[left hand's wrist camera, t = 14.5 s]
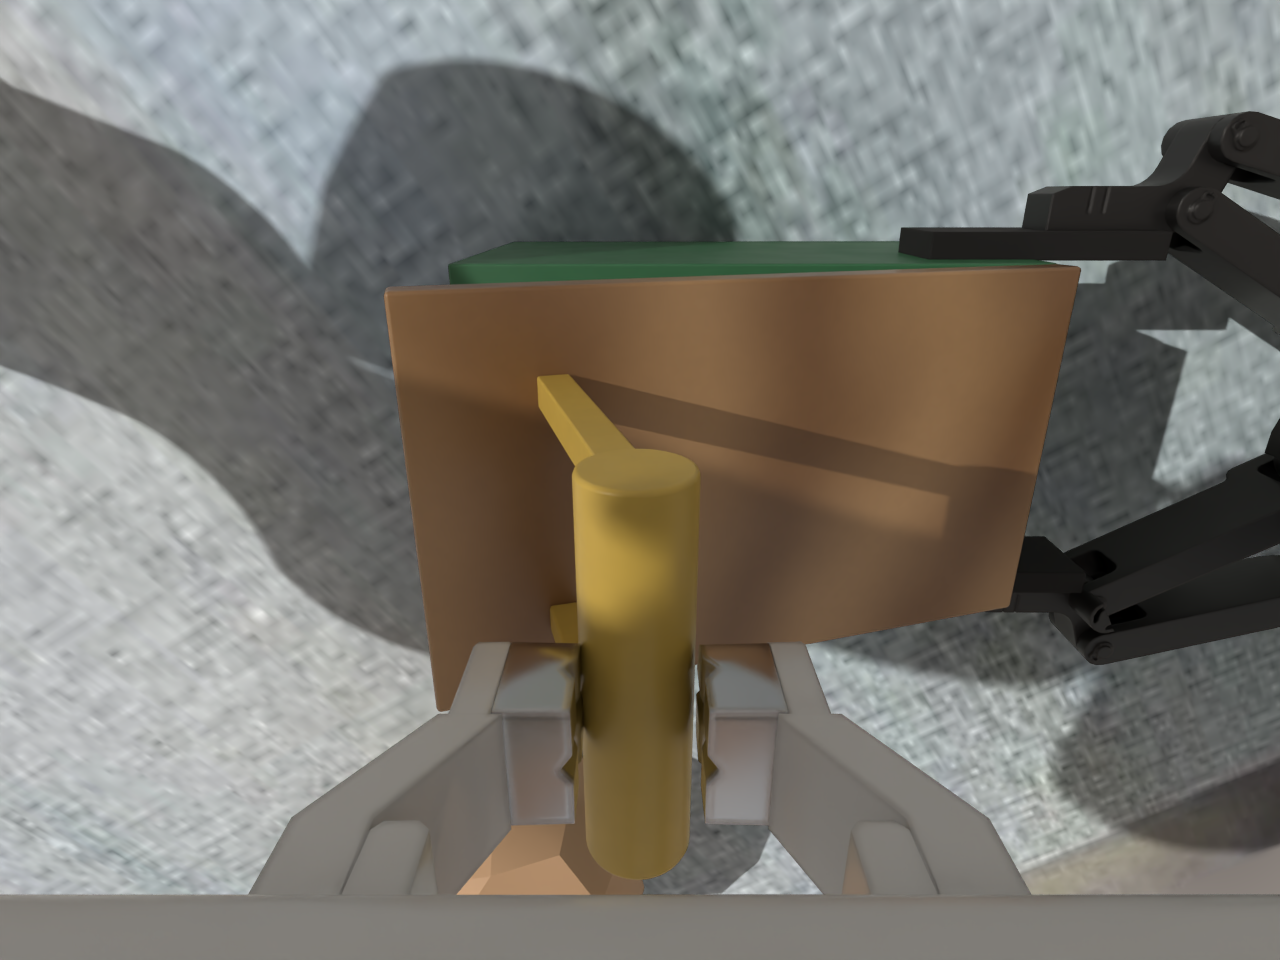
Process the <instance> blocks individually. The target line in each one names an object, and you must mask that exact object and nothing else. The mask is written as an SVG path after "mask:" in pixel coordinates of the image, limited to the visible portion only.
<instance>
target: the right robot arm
mask: <svg viewBox="0 0 1280 960" xmlns="http://www.w3.org/2000/svg"><path fill="white" fill-rule="evenodd" d="M1161 150H1162V155H1163V158H1162V160H1161V161H1160V163H1159V165H1158V167H1157V168H1156V169H1155V171H1154V172H1153V174H1152V175H1151V176H1149V177H1148V178H1147V179H1146V180H1144V181H1143V182H1141V183H1139V184H1137V185H1134V186H1058V187H1045V188H1042V189H1040V190H1037V191H1035V192H1032V193H1030V194H1028V198H1027V203H1026V209H1025V214H1024V220H1023V225H1022V228H901V233H900V241H899V249H898V252H899V253H903V254H907V255H912V256H916V257H920V258H925V259H929V260H1006V259H1033V260H1166V257H1167V254H1168V253H1169V254H1170V255H1172V256H1173V257H1175V258H1176V259H1178V260H1179V261H1180V262H1182V263H1183V264H1185V265H1186V266H1188V267H1189V268H1191V269H1192V270H1194V271H1195V272H1197V273H1198V274H1199V275H1201V276H1202V277H1204V278H1205V279H1207V280H1208V281H1210V282H1211V283H1213V284H1214V285H1216V286H1217V287H1218V288H1220V289H1221V290H1223V291H1224V292H1226V293H1227V294H1229V295H1230V296H1232V297H1233V298H1235V299H1236V300H1237V301H1239V302H1240V303H1242V304H1243V305H1245V306H1246V307H1248V308H1249V309H1251V310H1252V311H1254V312H1255V313H1256V314H1258V315H1259V316H1261V317H1262V318H1264V319H1265V320H1267V321H1268V322H1270V323H1271V324H1272V325H1274V327H1273V328H1272V329H1273V331H1275V332H1276V333H1277V334H1279V335H1280V234H1278V233H1277V232H1275V231H1274V230H1273V229H1271V228H1270V227H1268V226H1267V225H1266V224H1264V223H1263V222H1261V221H1260V220H1259V219H1257V218H1256V217H1254V216H1253V215H1252V214H1250V213H1249V212H1247V211H1246V210H1245V209H1243V208H1242V207H1241V206H1239V205H1238V204H1236V203H1235V202H1234V201H1232V200H1231V199H1229V198H1228V197H1227V196H1225V195H1224V194H1222V193H1221V192H1222V191H1223V189H1224V187H1225V186H1226V184H1227V183H1230V184H1233V185H1236V186H1239V187H1243V188H1246V189H1249V190H1252V191H1255V192H1258V193H1261V194H1264V195H1267V196H1270V197H1273V198H1276V199H1279V200H1280V119H1277V118H1274V117H1271V116H1268V115H1265V114H1262V113H1259V112H1251V111H1248V112H1241V113H1234V114H1227V115H1219V116H1212V117H1205V118H1198V119H1191V120H1185V121H1182V122H1179V123H1176V124H1175V125H1174V126H1173V127H1171V128H1170V129H1169V130H1168V132H1167V133H1166V135H1165V136H1164V138H1163V141H1162V145H1161ZM1265 453H1266V454H1263V455H1261V456H1259V457H1257V458H1254V459H1252V460H1250V461H1248V462H1245V463H1243V464H1241V465H1239V466H1236V467H1234V468H1232V469H1231V470H1229V471H1228V472H1227V473H1226V480H1225V481H1224V482H1222V483H1220V484H1218V485H1216V486H1214V487H1211V488H1209V489H1207V490H1205V491H1202V492H1200V493H1198V494H1196V495H1193V496H1191V497H1189V498H1187V499H1184V500H1182V501H1180V502H1178V503H1175V504H1173V505H1171V506H1169V507H1166V508H1164V509H1162V510H1159V511H1157V512H1155V513H1153V514H1150V515H1148V516H1146V517H1144V518H1141V519H1139V520H1137V521H1135V522H1132V523H1130V524H1128V525H1126V526H1123V527H1121V528H1119V529H1117V530H1114V531H1112V532H1110V533H1108V534H1105V535H1103V536H1101V537H1099V538H1096V539H1094V540H1092V541H1090V542H1087V543H1085V544H1083V545H1081V546H1078V547H1076V548H1074V549H1071V550H1069V551H1067V552H1065V553H1063V552H1062V551H1061V550H1059V549H1058V548H1057V547H1056V546H1055V545H1054V544H1053V543H1051V542H1050V541H1049V540H1048V539H1047V538H1046V537H1044V536H1024V540H1023V544H1022V549H1021V554H1020V559H1019V563H1018V568H1017V573H1016V577H1015V582H1014V587H1013V591H1012V596H1011V601H1010V605H1009V606H1008V607H1006V608H1000V609H995V610H990V611H985V612H1002V611H1003V612H1014V611H1015V612H1049V619H1050V621H1051V622H1052V623H1053V625H1054V626H1055V627H1056V628H1057V629H1058V630H1059V631H1060V632H1061V633H1062V634H1063V635H1064V636H1065V637H1066V638H1067V639H1068V641H1069V642H1070V643H1071V644H1072V645H1073V646H1074V647H1075V648H1076V649H1077V650H1078V651H1079V652H1080V653H1081V654H1082V656H1083V657H1084V658H1085V659H1086V660H1087V661H1089V662H1090V663H1092V664H1095V665H1104V664H1108V663H1113V662H1118V661H1122V660H1127V659H1132V658H1137V657H1141V656H1146V655H1151V654H1155V653H1160V652H1165V651H1169V650H1174V649H1179V648H1184V647H1188V646H1193V645H1198V644H1202V643H1207V642H1212V641H1216V640H1221V639H1226V638H1230V637H1235V636H1240V635H1245V634H1249V633H1254V632H1259V631H1263V630H1268V629H1273V628H1277V627H1280V555H1270V556H1258V557H1253V558H1247V559H1244V558H1246V557H1249V556H1251V555H1254V554H1256V553H1258V552H1261V551H1263V550H1265V549H1268V548H1270V547H1273V546H1275V545H1277V544H1280V419H1279V420H1278V422H1277V424H1276V425H1275V427H1274V428H1273V430H1272V432H1271V435H1270V438H1269V441H1268V444H1267V447H1266V450H1265Z"/></svg>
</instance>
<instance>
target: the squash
mask: <svg viewBox="0 0 1280 960" xmlns="http://www.w3.org/2000/svg"><path fill="white" fill-rule="evenodd" d="M578 771H579V789H578V798H577V807H576V816H575V824H548V825H513V826H511V830H510V831H509V833H508V834H507V835H506V836H505V837H504V839H503V840H502V841H501V842H500V843H499V845H498V846H497V847H496V848H495V849H494V850H493V852H492V853H491V854H490V855H489V856H488V858H487V859H486V860H485V861H484V862H483V864H482V865H481V866H480V867H479V868H478V870H477V871H476V872H475V873H474V874H473V875H472V877H471V878H470V879H469V880H468V881H467V883H466V884H465V885H464V886H463V887H462V889H461V890H460V891H459V892H458V893H457V895H643V891H644V885H643V881H642V880H631V879H625V878H621V877H618V876H615V875H613V874H611V873H609V872H607V871H606V870H604V869H603V868H602V867H601V866H600V865H599V864H598V863H597V862H596V861H595V860H594V858H593V857H592V855H591V853H590V852H589V849H588V846H587V842H586V824H585V798H584V773H583V758H582V760H581V762H580V763H579V764H578Z"/></svg>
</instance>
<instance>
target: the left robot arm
mask: <svg viewBox="0 0 1280 960" xmlns="http://www.w3.org/2000/svg"><path fill="white" fill-rule="evenodd" d="M697 671H698V680H699V689H700V691H699V692H698V693H697V694H696V738H697V751H698V761H699V762H700V763H701V764H702V765H701V791H702V800H703V808H704V817H705V824H731V825H767V826H769V828H768V829H769V830H770V831H771V832H772V833H773V835H774V836H775V837H776V838H777V839H778V841H779V842H780V843H781V844H782V845H783V847H784V848H785V849H786V850H787V851H788V853H789V854H790V855H791V856H792V857H793V859H794V860H795V861H796V862H797V863H798V865H799V866H800V867H801V868H802V869H803V871H804V872H805V873H806V874H807V875H808V876H809V878H810V879H811V880H812V881H813V882H814V884H815V885H816V886H817V887H818V888H819V890H820V891H821V892H822V893H823V894H824V895H790V894H713V895H457V893H458V892H459V891H460V890H461V889H462V887H463V886H464V885H465V884H466V883H467V881H468V880H469V879H470V878H471V877H472V875H473V874H474V873H475V872H476V871H477V870H478V868H479V867H480V866H481V865H482V864H483V862H484V861H485V860H486V859H487V858H488V856H489V855H490V854H491V853H492V852H493V850H494V849H495V848H496V847H497V846H498V845H499V843H500V842H501V841H502V840H503V839H504V837H505V836H506V835H507V834H508V833H509V831H510V830H511V826H513V825H548V824H575V816H576V807H577V798H578V789H579V771H578V764H579V763H580V762H581V760H582V749H583V732H584V719H583V698H582V695H581V691H580V688H581V678H582V664H581V644H580V643H537V642H513V643H511V642H478V643H477V644H476V645H475V646H474V647H473V649H472V652H471V655H470V657H469V660H468V663H467V665H466V668H465V671H464V673H463V676H462V679H461V682H460V684H459V687H458V690H457V692H456V695H455V698H454V700H453V703H452V706H451V709H450V711H449V714H438V715H436V716H435V717H433V718H432V719H430V720H429V721H428V722H426V723H425V724H423V725H422V726H421V727H419V728H418V729H416V730H415V731H413V732H412V733H411V734H409V735H408V736H406V737H405V738H404V739H402V740H401V741H399V742H398V743H396V744H395V745H394V746H392V747H391V748H389V749H388V750H387V751H385V752H384V753H382V754H381V755H379V756H378V757H377V758H375V759H374V760H372V761H371V762H370V763H368V764H367V765H365V766H364V767H362V768H361V769H360V770H358V771H357V772H355V773H354V774H353V775H351V776H350V777H348V778H347V779H345V780H344V781H343V782H341V783H340V784H338V785H337V786H335V787H334V788H333V789H331V790H330V791H328V792H327V793H326V794H324V795H323V796H321V797H320V798H318V799H317V800H316V801H314V802H313V803H311V804H310V805H309V806H307V807H306V808H304V809H303V810H301V811H300V812H299V813H297V814H296V815H294V816H293V817H292V818H291V819H290V821H289V823H288V825H287V827H286V828H285V830H284V832H283V834H282V835H281V837H280V839H279V841H278V843H277V844H276V846H275V848H274V850H273V851H272V853H271V855H270V857H269V859H268V860H267V862H266V864H265V866H264V867H263V869H262V871H261V873H260V874H259V876H258V878H257V880H256V882H255V883H254V885H253V887H252V889H251V890H250V892H249V894H248V895H0V960H1280V894H1080V895H1031V893H1030V891H1029V889H1028V887H1027V886H1026V884H1025V882H1024V880H1023V878H1022V877H1021V875H1020V873H1019V871H1018V869H1017V868H1016V866H1015V864H1014V862H1013V860H1012V859H1011V857H1010V855H1009V853H1008V852H1007V850H1006V848H1005V846H1004V844H1003V843H1002V841H1001V839H1000V837H999V835H998V834H997V832H996V830H995V828H994V826H993V825H992V823H991V821H990V819H989V818H988V817H986V816H985V815H983V814H982V813H981V812H979V811H978V810H976V809H975V808H974V807H972V806H971V805H969V804H968V803H966V802H965V801H964V800H962V799H961V798H959V797H958V796H957V795H955V794H954V793H952V792H951V791H950V790H948V789H947V788H945V787H944V786H942V785H941V784H940V783H938V782H937V781H935V780H934V779H933V778H931V777H930V776H928V775H927V774H926V773H924V772H923V771H921V770H920V769H918V768H917V767H916V766H914V765H913V764H911V763H910V762H909V761H907V760H906V759H904V758H903V757H902V756H900V755H899V754H897V753H896V752H894V751H893V750H892V749H890V748H889V747H887V746H886V745H885V744H883V743H882V742H880V741H879V740H878V739H876V738H875V737H873V736H872V735H871V734H869V733H868V732H866V731H865V730H863V729H862V728H861V727H859V726H858V725H856V724H855V723H854V722H852V721H851V720H849V719H848V718H847V717H845V716H844V715H842V714H831V712H830V709H829V706H828V704H827V701H826V698H825V696H824V693H823V690H822V688H821V685H820V682H819V680H818V677H817V674H816V672H815V669H814V666H813V664H812V661H811V658H810V656H809V653H808V650H807V648H806V645H805V644H804V643H802V642H801V641H798V642H769V643H748V644H699V648H698V663H697Z"/></svg>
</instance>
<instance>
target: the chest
mask: <svg viewBox="0 0 1280 960" xmlns="http://www.w3.org/2000/svg"><path fill="white" fill-rule="evenodd" d="M898 249H899V241H770V242H512V243H509V244H506V245H503V246H501V247H498V248H495V249H492V250H489V251H486V252H483V253H480V254H477V255H474V256H471V257H469V258H466V259H463V260H460V261H457V262H454V263H451V264H449V265H448V270H449V280H450V285H454V284H483V283H513V282H542V281H572V280H601V279H631V278H660V277H690V276H719V275H749V274H778V273H808V272H837V271H867V270H896V269H926V268H955V267H985V266H1014V265H1044V264H1056V263H1051V262H1045V261H1039V260H1033V259H1006V260H929V259H925V258H920V257H916V256H912V255H907V254H903V253H899V252H898Z"/></svg>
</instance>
